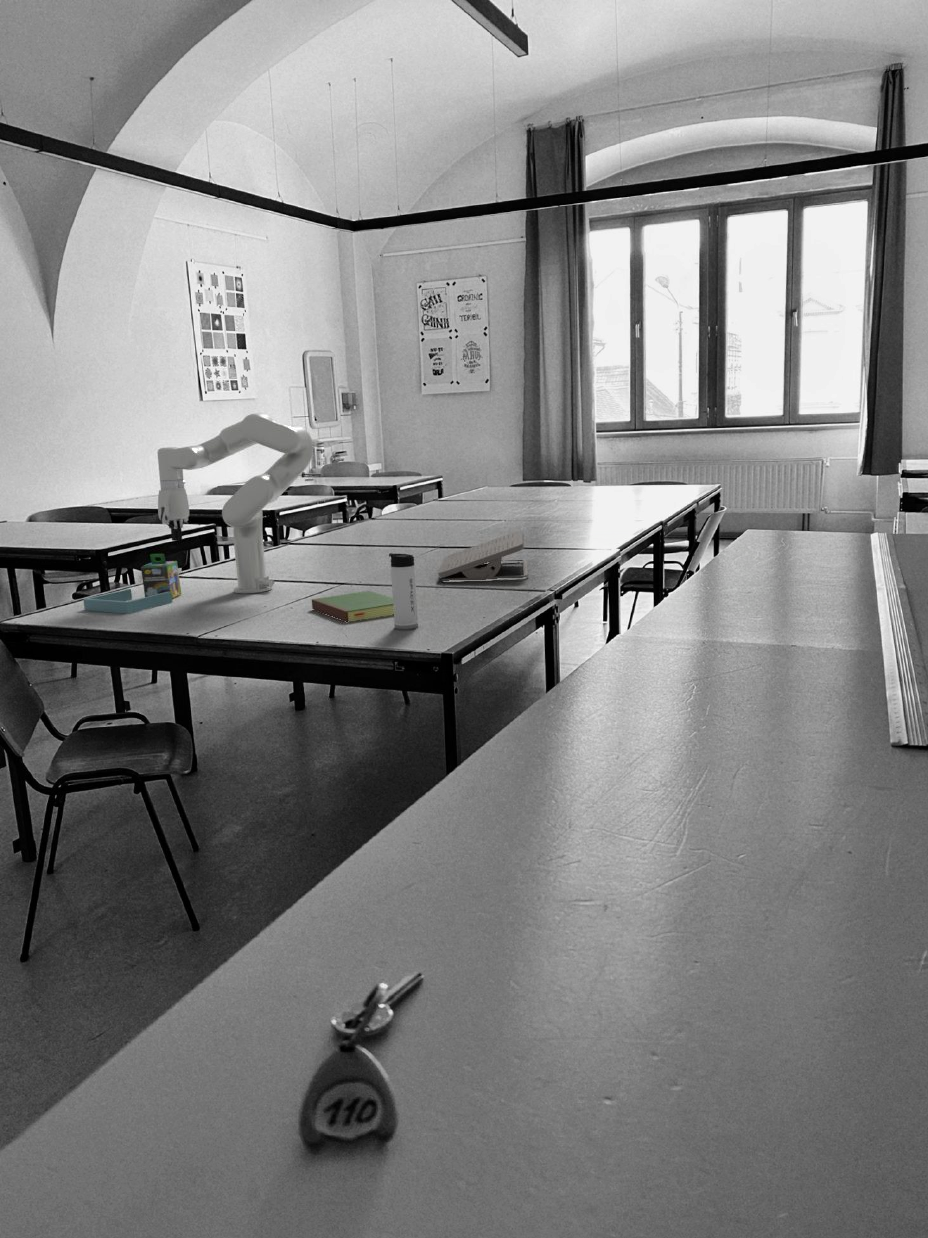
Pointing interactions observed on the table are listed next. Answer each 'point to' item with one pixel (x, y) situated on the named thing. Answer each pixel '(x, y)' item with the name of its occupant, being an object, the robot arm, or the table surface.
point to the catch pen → (119, 605)
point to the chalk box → (161, 577)
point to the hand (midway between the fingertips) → (177, 540)
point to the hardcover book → (355, 606)
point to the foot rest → (484, 559)
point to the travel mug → (404, 591)
